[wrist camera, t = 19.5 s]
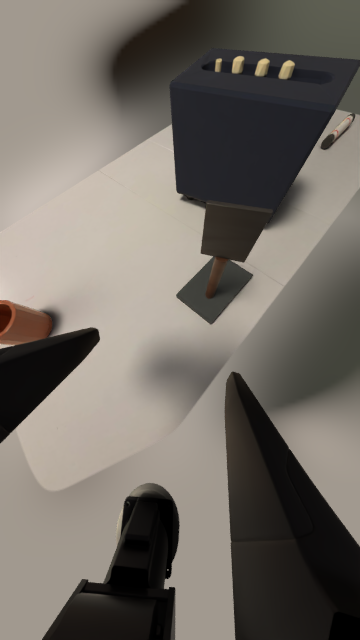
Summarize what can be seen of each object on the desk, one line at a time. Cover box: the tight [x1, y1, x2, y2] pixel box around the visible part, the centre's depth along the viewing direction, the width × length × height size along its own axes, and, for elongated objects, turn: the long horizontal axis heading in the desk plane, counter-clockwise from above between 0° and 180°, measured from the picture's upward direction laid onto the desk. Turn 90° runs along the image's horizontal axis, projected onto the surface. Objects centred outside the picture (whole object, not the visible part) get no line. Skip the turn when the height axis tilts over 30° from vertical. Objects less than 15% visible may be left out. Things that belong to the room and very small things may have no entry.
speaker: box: [170, 48, 360, 223], centre depth 24 cm, size 22×13×15 cm, turn 59°
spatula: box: [201, 200, 273, 299], centre depth 16 cm, size 2×5×14 cm, turn 72°
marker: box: [321, 114, 355, 149], centre depth 35 cm, size 15×2×2 cm, turn 137°
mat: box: [176, 256, 253, 324], centre depth 24 cm, size 12×8×1 cm, turn 138°
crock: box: [0, 300, 52, 345], centre depth 22 cm, size 6×6×6 cm
